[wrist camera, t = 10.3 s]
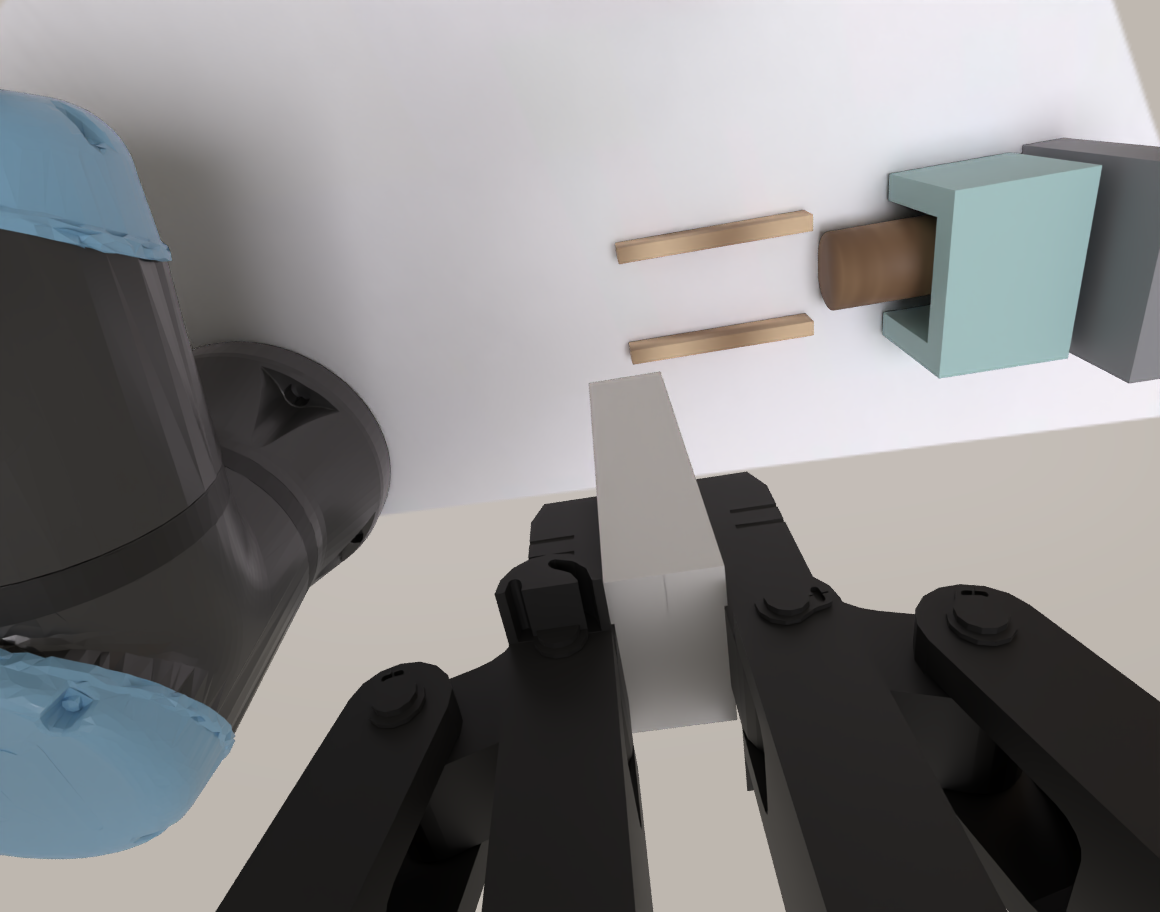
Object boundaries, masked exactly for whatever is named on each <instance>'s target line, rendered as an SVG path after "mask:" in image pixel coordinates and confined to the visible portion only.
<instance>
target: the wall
mask: <svg viewBox="0 0 1160 912" xmlns="http://www.w3.org/2000/svg"><path fill="white" fill-rule="evenodd" d="M1022 154H1025V155H1032V156H1039V157H1047V158H1054V159H1061V160H1068V161H1076V162H1083V163H1090V164H1097V165H1102V170H1101V176H1100V181H1099V187H1098V193H1097V198H1096V204H1095V209H1094V215H1093V220H1092V226H1091V232H1090V237H1089V243H1088V248H1087V254H1086V260H1085V265H1084V271H1083V276H1082V282H1081V288H1080V293H1079V299H1078V304H1077V310H1076V315H1075V321H1074V327H1073V332H1072V338H1071V343H1070V349H1069V352H1070V353H1071V354H1073V355H1075V356H1077V357H1079V358H1081V359H1083V360H1085V361H1087V362H1089V363H1091V364H1093V365H1095V366H1096V367H1098V368H1100V369H1102V370H1104V371H1106V372H1108V373H1110V374H1112V375H1114V376H1116V377H1118V378H1119V379H1121V380H1123V381H1125V382H1127V383H1135V382H1142V381H1148V380H1155V379H1160V147H1155V146H1145V145H1134V144H1124V143H1113V142H1102V141H1092V140H1081V139H1071V138H1060V139H1055V140H1049V141H1043V142H1038V143H1032V144H1026V145H1023V149H1022Z"/></svg>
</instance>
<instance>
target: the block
mask: <svg viewBox="0 0 1160 912" xmlns="http://www.w3.org/2000/svg"><path fill="white" fill-rule="evenodd" d="M1101 170H1102V165H1097V164H1090V163H1083V162H1076V161H1068V160H1061V159H1054V158H1047V157H1039V156H1032V155H1025V154H1018V153H1005V154H999V155H994V156H988V157H982V158H977V159H971V160H965V161H960V162H954V163H948V164H943V165H937V166H931V167H926V168H920V169H914V170H909V171H903V172H897V173H891V174H890V176H889V199H888V201H891V202H894V203H897V204H900V205H903V206H906V207H909V208H912V209H915V210H918V211H921V212H924V213H927V214H929V215H932V216H935V217H937V226H936V239H935V252H934V265H933V278H932V292H931V305H927V306H921V307H915V308H909V309H902V310H896V311H890V312H884V314H883V335H884V336H885V337H886V338H887V339H889V340H890V341H891V342H893V343H894V344H895V345H896V346H898V347H899V348H900V349H902V350H903V351H904V352H906V353H907V354H908V355H909V356H911V357H912V358H913V359H915V360H916V361H917V362H918V363H920V364H921V365H922V366H924V367H925V368H926V369H927V370H929V371H930V372H931V373H933V374H934V375H935V376H937V377H938V378H945V377H952V376H958V375H965V374H971V373H977V372H984V371H990V370H997V369H1003V368H1009V367H1016V366H1022V365H1028V364H1035V363H1041V362H1048V361H1054V360H1060V359H1067V358H1068V355H1069V349H1070V343H1071V338H1072V332H1073V327H1074V321H1075V315H1076V310H1077V304H1078V299H1079V293H1080V288H1081V282H1082V276H1083V271H1084V265H1085V260H1086V254H1087V248H1088V243H1089V237H1090V232H1091V226H1092V220H1093V215H1094V209H1095V204H1096V198H1097V193H1098V187H1099V181H1100V176H1101Z"/></svg>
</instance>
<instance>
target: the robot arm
mask: <svg viewBox="0 0 1160 912" xmlns="http://www.w3.org/2000/svg"><path fill="white" fill-rule="evenodd" d="M168 261H172V258H171V252H170V250H169V247H168V246H167V245H166V244H164V243H163V242H162V241H161V239H160V236H159V234H158V231H157V228H156V225H155V222H154V219H153V217H152V214H151V211H150V208H149V205H148V203H147V200H146V197H145V194H144V191H143V189H142V186H141V183H140V180H139V177H138V174H137V171H136V168H135V165H134V162H133V159H132V157H131V155H130V153H129V151H128V149H127V147H126V146H125V144H124V143H123V141H122V140H121V138H120V137H119V136H118V135H117V134H116V133H115V131H114V130H113V129H112V128H111V127H109V126H108V125H107V124H106V123H105V122H103V121H102V120H101V119H100V118H98V117H97V116H95V115H94V114H92V113H91V112H89V111H87V110H85V109H83V108H81V107H79V106H77V105H74V104H71V103H69V102H66V101H63V100H59V99H55V98H50V97H45V96H39V95H33V94H27V93H21V92H15V91H8V90H1V89H0V855H6V856H14V857H23V858H38V859H76V858H86V857H95V856H100V855H105V854H110V853H115V852H120V851H123V850H127V849H130V848H133V847H135V846H138V845H141V844H143V843H145V842H147V841H149V840H151V839H152V838H154V837H156V836H158V835H160V834H161V833H162V832H163V831H165V830H166V829H167V828H168V827H169V826H171V825H172V824H174V823H176V822H177V821H179V820H180V819H181V818H182V817H183V816H184V815H185V814H186V813H187V811H188V810H189V809H190V808H191V807H192V805H193V804H194V802H195V801H196V799H197V798H198V796H199V794H200V793H201V792H202V790H203V788H204V787H205V785H206V784H207V782H208V781H209V779H210V778H211V776H212V775H213V773H214V772H215V770H216V769H217V767H218V766H219V764H220V763H221V761H222V760H223V759H224V758H225V757H226V756H227V755H228V754H229V752H230V750H231V748H232V746H233V744H234V742H235V740H234V739H233V738H234V737H235V735H234V734H235V732H236V730H237V728H238V726H239V724H240V722H241V720H242V718H243V716H244V714H245V712H246V710H247V708H248V706H249V704H250V702H251V701H252V698H253V697H254V695H255V693H256V691H257V689H258V687H259V685H260V683H261V681H262V679H263V677H264V675H265V673H266V671H267V669H268V667H269V665H270V663H271V661H272V659H273V657H274V655H275V654H276V652H277V650H278V648H279V646H280V644H281V642H282V640H283V638H284V636H285V634H286V632H287V630H288V628H289V626H290V624H291V622H292V620H293V618H294V616H295V614H296V612H297V610H298V609H299V607H300V605H301V603H302V601H303V599H304V597H305V595H306V593H307V591H308V589H309V587H310V586H311V585H313V584H314V583H315V582H317V581H318V580H319V579H321V578H322V577H323V576H324V575H326V574H327V573H328V572H330V571H331V570H332V569H333V568H335V567H336V566H337V565H339V564H340V563H341V562H342V561H344V560H345V559H347V558H348V557H349V556H350V555H351V554H353V553H354V552H355V551H356V550H357V549H358V548H359V547H360V546H361V545H362V543H363V542H364V541H365V540H366V538H367V537H368V536H369V534H370V533H371V531H372V529H373V528H374V526H375V524H376V522H377V519H378V517H379V515H380V513H381V511H382V508H383V506H384V504H385V501H386V498H387V495H388V491H389V485H390V460H389V454H388V449H387V446H386V443H385V440H384V437H383V434H382V432H381V430H380V428H379V425H378V424H377V422H376V420H375V418H374V416H373V415H372V413H371V412H370V410H369V409H368V408H367V406H366V405H365V404H364V402H363V401H362V400H361V399H360V398H359V396H358V395H357V394H356V393H355V392H354V391H353V390H352V389H351V388H350V387H349V386H348V385H347V384H345V383H344V382H343V381H342V380H341V379H340V378H338V377H337V376H336V375H334V374H333V373H332V372H330V371H329V370H327V369H326V368H324V367H322V366H321V365H319V364H317V363H316V362H314V361H312V360H310V359H308V358H306V357H304V356H301V355H299V354H297V353H294V352H291V351H288V350H286V349H282V348H279V347H275V346H271V345H266V344H260V343H251V342H224V343H217V344H212V345H207V346H203V347H200V348H197V349H194V350H192V349H191V346H190V342H189V339H188V335H187V332H186V328H185V325H184V321H183V317H182V313H181V310H180V306H179V302H178V298H177V295H176V291H175V287H174V283H173V280H172V276H171V272H170V268H169V264H168ZM589 392H590V406H591V420H592V434H593V448H594V462H595V476H596V490H597V496H596V497H589V498H583V499H576V500H569V501H563V502H556V503H550V504H544V506H543V507H542V508H541V510H540V511H539V513H538V514H537V515H536V517H535V518H534V520H533V521H532V522H531V532H530V546H529V556H528V558H529V560H528V561H526V562H524V563H522V564H520V565H518V566H517V567H514V568H513V569H512V570H511V571H510V572H509V573H508V574H507V575H506V576H505V577H504V578H503V579H502V580H500V583H499V585H498V587H497V590H496V593H495V597H496V600H497V604H498V608H499V611H500V615H501V618H502V622H503V625H504V628H505V632H506V636H507V639H508V642H509V647H508V648H507V650H506V651H505V652H504V653H502V654H501V655H499V656H498V657H497V658H495V659H494V660H492V661H491V662H489V663H487V664H484V665H482V666H480V667H478V668H476V669H474V670H471V671H469V672H466V673H463V674H461V675H458V676H456V677H453V678H451V679H449V677H448V675H447V674H446V673H444V672H443V671H442V670H441V669H440V668H439V667H438V666H436V665H432V664H427V663H423V662H415V663H404V664H399V665H397V666H394V667H391V668H389V669H386V670H384V671H381V672H380V673H378V674H377V675H375V676H374V677H372V678H371V679H370V680H368V681H367V682H365V683H364V684H362V686H361V687H360V688H359V689H358V690H357V691H356V693H355V694H354V695H353V696H352V697H351V698H350V700H349V701H348V703H347V704H346V706H345V707H344V709H343V711H342V712H341V714H340V715H339V717H338V718H337V720H336V722H335V723H334V725H333V726H332V728H331V730H330V731H329V733H328V734H327V736H326V737H325V739H324V741H323V742H322V744H321V746H320V747H319V748H318V750H317V752H316V753H315V755H314V756H313V758H312V760H311V761H310V763H309V764H308V766H307V767H306V769H305V771H304V772H303V774H302V776H301V777H300V779H299V780H298V782H297V784H296V785H295V787H294V788H293V790H292V791H291V793H290V794H289V796H288V798H287V799H286V801H285V802H284V804H283V806H282V807H281V809H280V810H279V812H278V814H277V815H276V817H275V818H274V820H273V821H272V823H271V825H270V826H269V828H268V829H267V831H266V832H265V834H264V836H263V837H262V839H261V841H260V842H259V844H258V845H257V847H256V848H255V850H254V852H253V853H252V855H251V856H250V858H249V859H248V861H247V863H246V864H245V866H244V867H243V869H242V870H241V872H240V874H239V875H238V877H237V879H236V880H235V882H234V883H233V885H232V886H231V888H230V890H229V891H228V893H227V894H226V896H225V898H224V899H223V901H222V902H221V904H220V905H219V907H218V909H217V910H216V912H475V910H476V908H477V904H478V901H479V898H480V895H481V892H482V889H483V886H484V894H483V904H482V912H653V906H652V896H651V887H650V877H649V869H648V859H647V849H646V840H645V831H644V821H643V812H642V803H641V793H640V784H639V774H638V766H637V761H636V756H635V750H634V745H633V738H632V733H637V732H645V731H653V730H661V729H668V728H676V727H684V726H691V725H700V724H708V723H715V722H723V721H731V720H737V712H736V705H737V709H738V712H739V716H740V720H741V723H742V728H743V741H744V754H745V766H746V777H747V778H746V779H747V791H751V790H754V792H755V796H756V799H757V803H758V807H759V811H760V815H761V818H762V822H763V826H764V830H765V833H766V837H767V841H768V845H769V849H770V853H771V856H772V860H773V864H774V868H775V872H776V875H777V879H778V883H779V887H780V890H781V894H782V898H783V902H784V905H785V910H786V912H1008V911H1009V912H1160V702H1159V701H1158V700H1157V699H1156V698H1154V697H1153V696H1151V695H1150V694H1149V693H1147V692H1146V691H1145V690H1143V689H1142V688H1141V687H1139V686H1138V685H1137V684H1135V683H1134V682H1133V681H1131V680H1130V679H1129V678H1127V677H1126V676H1125V675H1123V674H1122V673H1121V672H1119V671H1118V670H1116V669H1115V668H1114V667H1113V666H1111V665H1110V664H1109V663H1107V662H1106V661H1105V660H1103V659H1102V658H1100V657H1099V656H1098V655H1096V654H1095V653H1094V652H1092V651H1091V650H1090V649H1088V648H1087V647H1086V646H1084V645H1083V644H1082V643H1080V642H1079V641H1077V640H1076V639H1075V638H1074V637H1072V636H1071V635H1070V634H1068V633H1067V632H1066V631H1064V630H1063V629H1062V628H1060V627H1059V626H1058V625H1056V624H1055V623H1053V622H1052V621H1051V620H1049V619H1048V618H1047V617H1045V616H1044V615H1043V614H1041V613H1040V612H1039V611H1037V610H1036V609H1034V608H1033V607H1032V606H1030V605H1029V604H1027V603H1025V602H1024V601H1022V600H1020V599H1018V598H1016V597H1015V596H1013V595H1011V594H1009V593H1006V592H1003V591H999V590H996V589H993V588H989V587H986V586H976V585H962V584H959V585H953V586H947V587H941V588H938V589H936V590H934V591H932V592H930V593H928V594H927V595H925V596H923V598H922V599H921V601H920V603H919V604H918V606H917V607H916V610H915V614H906V613H895V612H884V611H876V610H870V609H864V608H859V607H856V606H853V605H850V604H847V603H844V602H842V600H841V598H840V597H839V596H838V595H837V594H836V592H835V591H834V590H833V589H832V588H831V587H830V586H829V585H827V584H826V583H824V582H822V581H820V580H818V579H816V578H814V577H813V576H812V574H811V572H810V570H809V568H808V566H807V564H806V562H805V560H804V558H803V556H802V554H801V552H800V550H799V549H798V547H797V544H796V542H795V541H794V538H793V536H792V535H791V533H790V531H789V529H788V527H787V525H786V523H785V522H784V520H783V517H782V515H781V513H780V511H779V509H778V507H776V503H775V501H774V499H773V497H772V495H771V493H770V491H769V489H768V487H767V485H765V484H764V483H762V482H761V481H760V480H758V479H757V478H755V477H754V476H752V475H751V474H749V473H748V472H742V473H735V474H728V475H722V476H715V477H709V478H702V479H696V478H695V475H694V472H693V469H692V466H691V463H690V460H689V457H688V454H687V451H686V448H685V445H684V442H683V439H682V436H681V433H680V430H679V427H678V424H677V421H676V418H675V415H674V411H673V408H672V405H671V402H670V399H669V396H668V393H667V390H666V387H665V384H664V381H663V378H662V375H661V372H654V373H648V374H642V375H636V376H629V377H623V378H617V379H611V380H605V381H598V382H592V383H589ZM484 883H485V884H484ZM1005 907H1006V908H1005ZM1006 909H1007V910H1008V911H1007V910H1006Z"/></svg>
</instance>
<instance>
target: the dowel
mask: <svg viewBox="0 0 1160 912" xmlns="http://www.w3.org/2000/svg"><path fill="white" fill-rule="evenodd" d="M936 226H937V217H935V216H932V215H929V214H928V215H922V216H916V217H910V218H905V219H899V220H893V221H887V222H881V223H875V224H870V225H864V226H858V227H852V228H846V229H840V230H835V231H829V232H825V233H824V234H823V235H822V237H821V240H820V243H819V248H818V279H819V285H820V290H821V294H822V297H823V299H824V302H825V304H826V305H827V307H828V308H829V309H830V310H839V309H845V308H852V307H858V306H864V305H870V304H876V303H882V302H888V301H894V300H900V299H906V298H913V297H919V296H925V295H931V292H932V278H933V265H934V252H935V239H936Z"/></svg>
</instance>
